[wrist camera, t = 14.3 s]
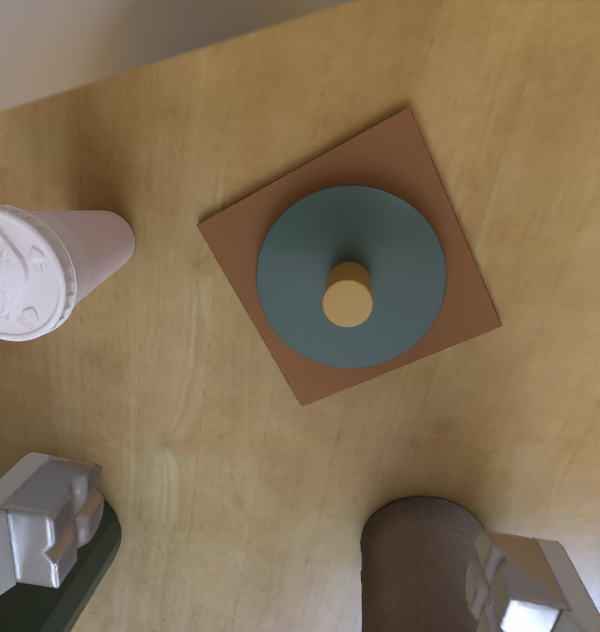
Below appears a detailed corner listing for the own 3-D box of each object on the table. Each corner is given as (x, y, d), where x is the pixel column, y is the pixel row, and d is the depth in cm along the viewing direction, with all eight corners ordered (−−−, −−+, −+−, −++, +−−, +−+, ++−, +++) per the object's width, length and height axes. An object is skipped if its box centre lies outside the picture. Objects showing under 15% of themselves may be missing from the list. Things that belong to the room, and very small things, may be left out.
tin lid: (240, 329, 30) (218, 362, 25) (288, 157, 26) (272, 158, 21) (402, 382, 30) (410, 427, 25) (474, 218, 26) (501, 234, 21)
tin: (3, 546, 41) (-174, 744, 27) (10, 457, 37) (-190, 634, 24) (111, 583, 41) (-12, 799, 27) (130, 497, 37) (-2, 698, 23)
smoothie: (158, 200, 28) (-11, 241, 15) (151, 296, 31) (-2, 403, 18) (60, 178, 29) (-188, 202, 16) (60, 275, 31) (-157, 366, 18)
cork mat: (198, 223, 29) (195, 225, 28) (408, 106, 25) (409, 106, 25) (302, 403, 32) (301, 407, 32) (500, 323, 29) (502, 326, 28)
